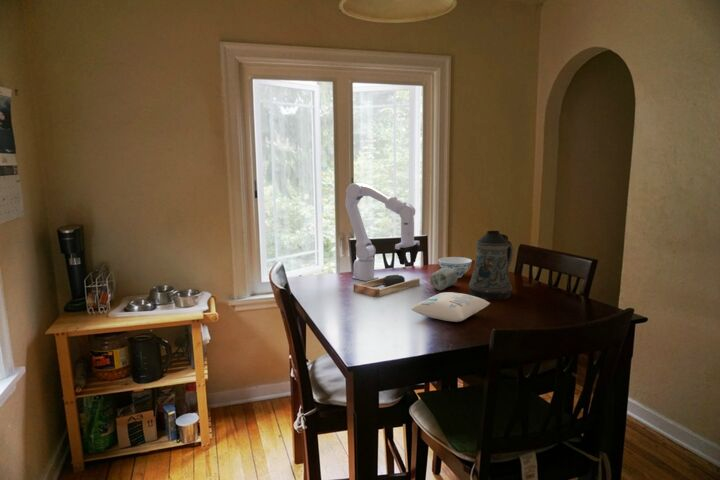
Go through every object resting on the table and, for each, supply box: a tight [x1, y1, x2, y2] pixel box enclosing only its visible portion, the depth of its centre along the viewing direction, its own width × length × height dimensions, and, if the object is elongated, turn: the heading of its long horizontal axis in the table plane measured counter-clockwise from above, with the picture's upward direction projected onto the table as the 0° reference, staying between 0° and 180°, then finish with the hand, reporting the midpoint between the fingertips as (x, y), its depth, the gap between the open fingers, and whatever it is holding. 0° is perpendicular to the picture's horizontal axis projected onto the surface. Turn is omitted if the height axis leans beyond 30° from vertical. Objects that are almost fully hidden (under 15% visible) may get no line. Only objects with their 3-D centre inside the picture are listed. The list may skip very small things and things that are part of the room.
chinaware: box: [438, 256, 473, 279], centre depth 209 cm, size 15×15×8 cm
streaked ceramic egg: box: [430, 268, 458, 291], centre depth 190 cm, size 14×10×10 cm
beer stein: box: [468, 230, 514, 301], centre depth 179 cm, size 16×19×25 cm
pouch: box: [410, 291, 491, 323], centre depth 152 cm, size 8×19×20 cm
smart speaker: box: [383, 274, 406, 287], centre depth 196 cm, size 9×9×4 cm
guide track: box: [352, 273, 421, 298], centre depth 192 cm, size 13×27×3 cm, turn 134°
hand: (407, 263), depth 201 cm, fingers open, 7 cm apart
